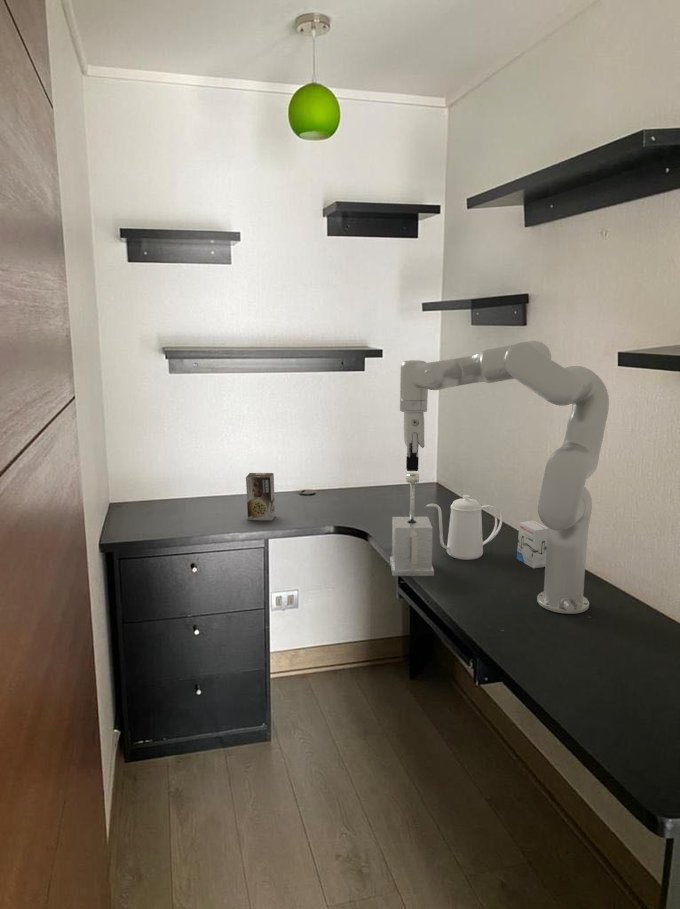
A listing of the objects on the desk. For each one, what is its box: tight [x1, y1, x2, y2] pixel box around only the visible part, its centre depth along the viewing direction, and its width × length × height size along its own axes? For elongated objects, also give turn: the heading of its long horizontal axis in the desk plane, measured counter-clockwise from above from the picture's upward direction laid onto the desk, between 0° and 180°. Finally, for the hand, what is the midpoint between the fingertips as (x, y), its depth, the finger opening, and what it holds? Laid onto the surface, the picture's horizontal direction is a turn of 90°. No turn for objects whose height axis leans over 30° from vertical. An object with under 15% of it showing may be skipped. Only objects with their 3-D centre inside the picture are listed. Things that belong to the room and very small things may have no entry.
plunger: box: [405, 472, 420, 523], centre depth 196 cm, size 7×7×18 cm
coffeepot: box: [425, 494, 504, 561], centre depth 208 cm, size 11×25×19 cm, turn 105°
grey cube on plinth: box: [389, 516, 435, 577], centre depth 197 cm, size 14×12×14 cm
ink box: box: [516, 520, 548, 569], centre depth 202 cm, size 9×5×12 cm, turn 21°
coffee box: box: [245, 472, 276, 521], centre depth 247 cm, size 9×6×16 cm
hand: (412, 470), depth 194 cm, fingers closed
